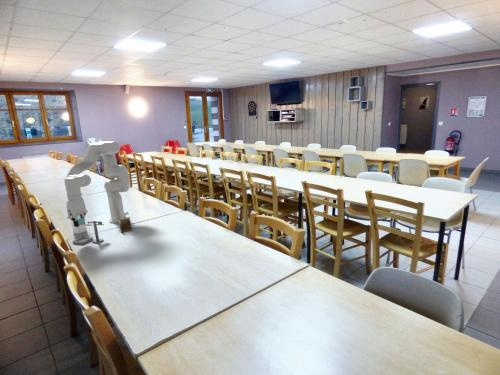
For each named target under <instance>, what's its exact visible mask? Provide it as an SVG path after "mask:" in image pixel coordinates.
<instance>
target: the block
mask: <svg viewBox="0 0 500 375" xmlns="http://www.w3.org/2000/svg"><path fill="white" fill-rule="evenodd" d="M84 219H85V218H79V219H77V221H78V224H79V226H80V225H83V224H86V220H85V221H84Z"/></svg>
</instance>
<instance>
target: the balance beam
mask: <svg viewBox="0 0 500 375" xmlns="http://www.w3.org/2000/svg"><path fill="white" fill-rule="evenodd" d="M93 224H96V225H97V226H104V225H105V224H104V223H103V221H97V220H93V221H87V223H85V224H84V226H86V227H89V226H90V227H92V226H93Z"/></svg>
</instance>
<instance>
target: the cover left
mask: <svg viewBox="0 0 500 375" xmlns="http://www.w3.org/2000/svg"><path fill="white" fill-rule="evenodd" d="M118 223H119V230H120V233H121V234H123V233H127V232H132V231H133V228H132V222H131V218H130V217H127V219H123V220H119V222H118Z"/></svg>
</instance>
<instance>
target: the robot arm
mask: <svg viewBox="0 0 500 375" xmlns="http://www.w3.org/2000/svg"><path fill="white" fill-rule="evenodd" d="M120 150H121V145H120V143H119V142H118V141H114V140H111V141H99V142H92V143H89V145H88V146H87V148H86V150H85V152H84V153H83V154H84V155H83V157H82V159H81V160H80V161H78V162H77V163H76V164H75V165H73V166H72V167H71V168H70V169H69V171H68V173H67V174H66V178H64V186H65V192H66V196H67V200H66V212H67V219H68V220H70V221H71V220H72V221H73V223H74V227H79V224H78V221H77V216H78V215H80V218H84V219H85V218H86V215H87V213H88V210H87V209H86V204H85V201H84V198H83V197H82V196H83V193H82V191H81V190H82V189H81V188H84V187H88V186H90V184H91V183H92V178H91V177H90V175H89V174H82V173H83V172H85V171H88V170H90V169H92V168H94V167H95V166H96V165H97V162H98V160H99V158H100V156H101V157H102V160H103V164H104V173H105V177H107V178H109V179H108V180H106V181H105V183H104V186H103V187H104V190H105V193H106V197H107V201H108V207H109V213H110V219H109V223H112V224H116V223H117V224H118V223H119V220H123V219H128V217H127V215H129V213H130V212H128V211H126V212H125V210H124V209H125V208H124V203H123V197H122V195H121V193H127V192H128V191H129V190H130V178H129V170H128V169H129V168H128V167H127V166H126V165H124V164H118V161H117V157H116V155H115V154H118V153H119V151H120ZM110 178H112V179H110ZM71 216H72V217H71ZM74 217H75V218H74ZM84 221H85V222H86V219H85V220H84Z"/></svg>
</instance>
